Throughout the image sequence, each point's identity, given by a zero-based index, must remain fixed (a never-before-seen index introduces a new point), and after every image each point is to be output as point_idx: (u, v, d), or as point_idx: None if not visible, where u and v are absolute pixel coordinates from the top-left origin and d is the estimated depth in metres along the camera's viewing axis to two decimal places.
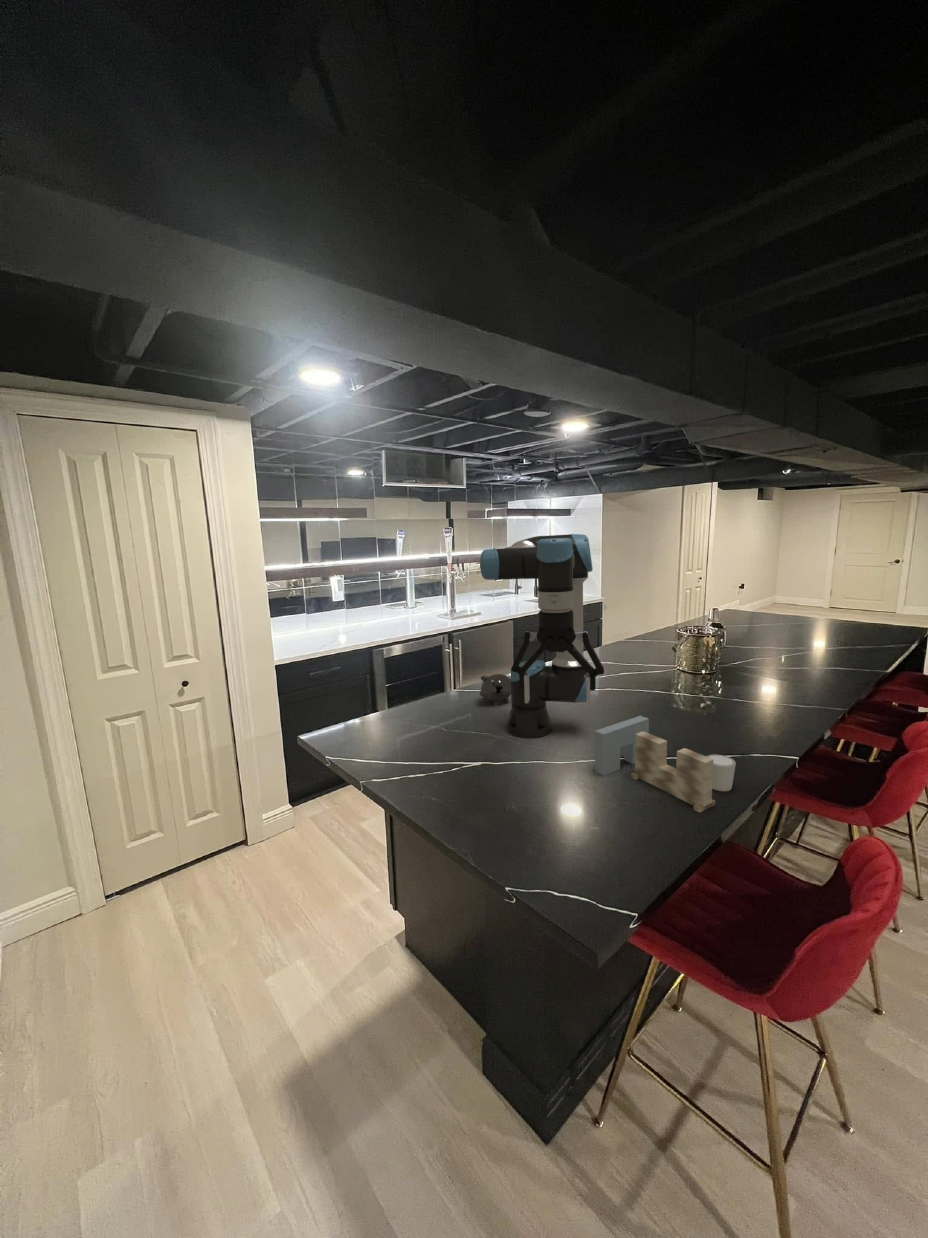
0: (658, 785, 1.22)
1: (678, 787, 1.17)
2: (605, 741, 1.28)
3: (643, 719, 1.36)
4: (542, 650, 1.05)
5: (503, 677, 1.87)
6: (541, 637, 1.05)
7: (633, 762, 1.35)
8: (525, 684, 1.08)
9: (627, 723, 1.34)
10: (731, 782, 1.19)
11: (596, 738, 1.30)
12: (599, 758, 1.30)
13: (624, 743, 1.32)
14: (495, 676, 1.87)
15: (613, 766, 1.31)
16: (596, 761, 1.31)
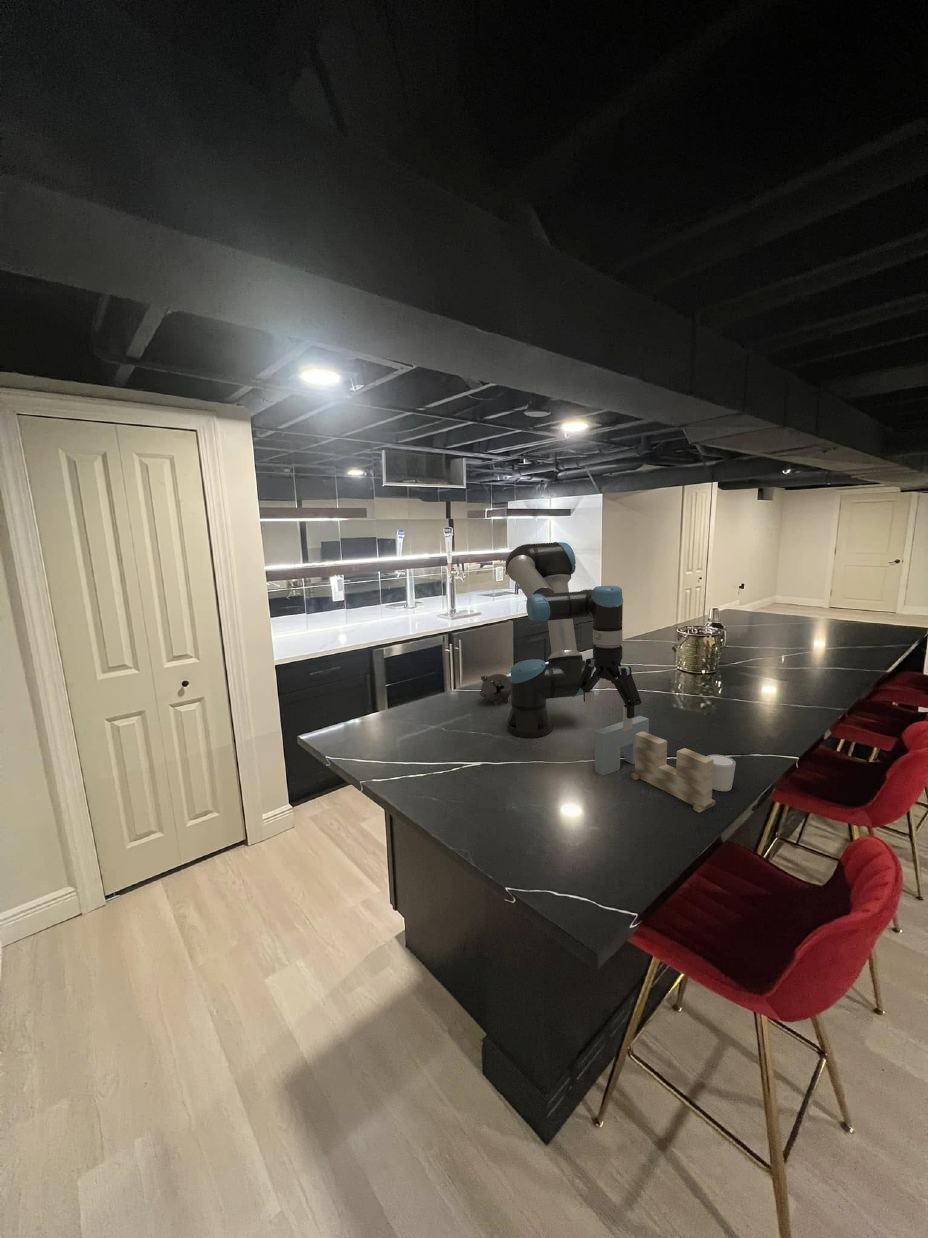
0: (658, 785, 1.22)
1: (678, 787, 1.17)
2: (605, 741, 1.28)
3: (643, 719, 1.36)
4: (595, 675, 1.29)
5: (503, 677, 1.87)
6: (596, 665, 1.29)
7: (633, 762, 1.35)
8: (585, 700, 1.34)
9: None
10: (731, 782, 1.19)
11: (596, 738, 1.30)
12: (599, 758, 1.30)
13: (624, 743, 1.32)
14: (495, 676, 1.87)
15: (613, 766, 1.31)
16: (596, 761, 1.31)
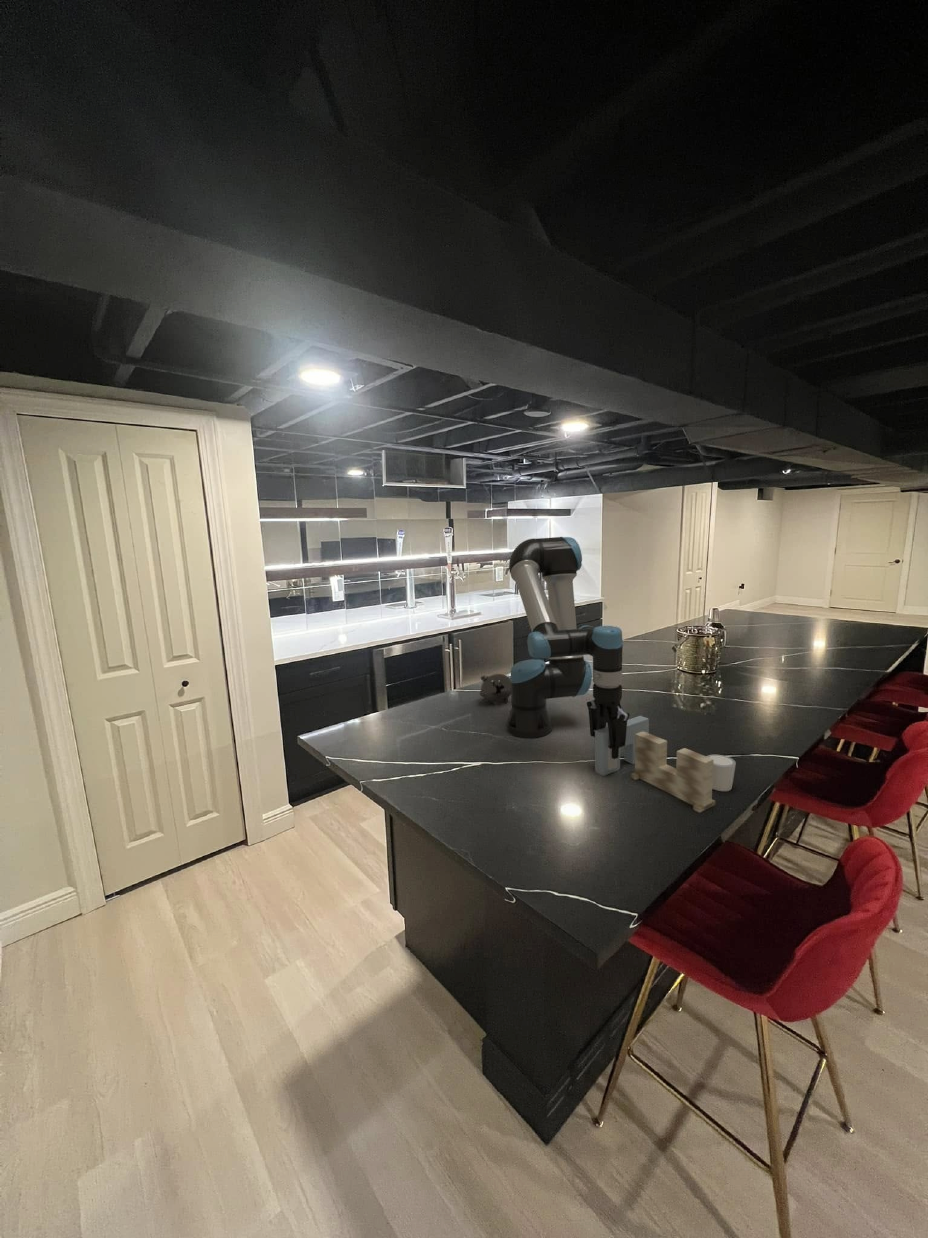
0: (658, 785, 1.22)
1: (678, 787, 1.17)
2: (605, 741, 1.28)
3: (643, 719, 1.36)
4: (598, 716, 1.30)
5: (503, 677, 1.87)
6: (596, 703, 1.31)
7: (633, 762, 1.35)
8: None
9: (627, 723, 1.34)
10: (731, 782, 1.19)
11: (596, 738, 1.30)
12: (599, 758, 1.30)
13: None
14: (495, 676, 1.87)
15: None
16: (596, 761, 1.31)
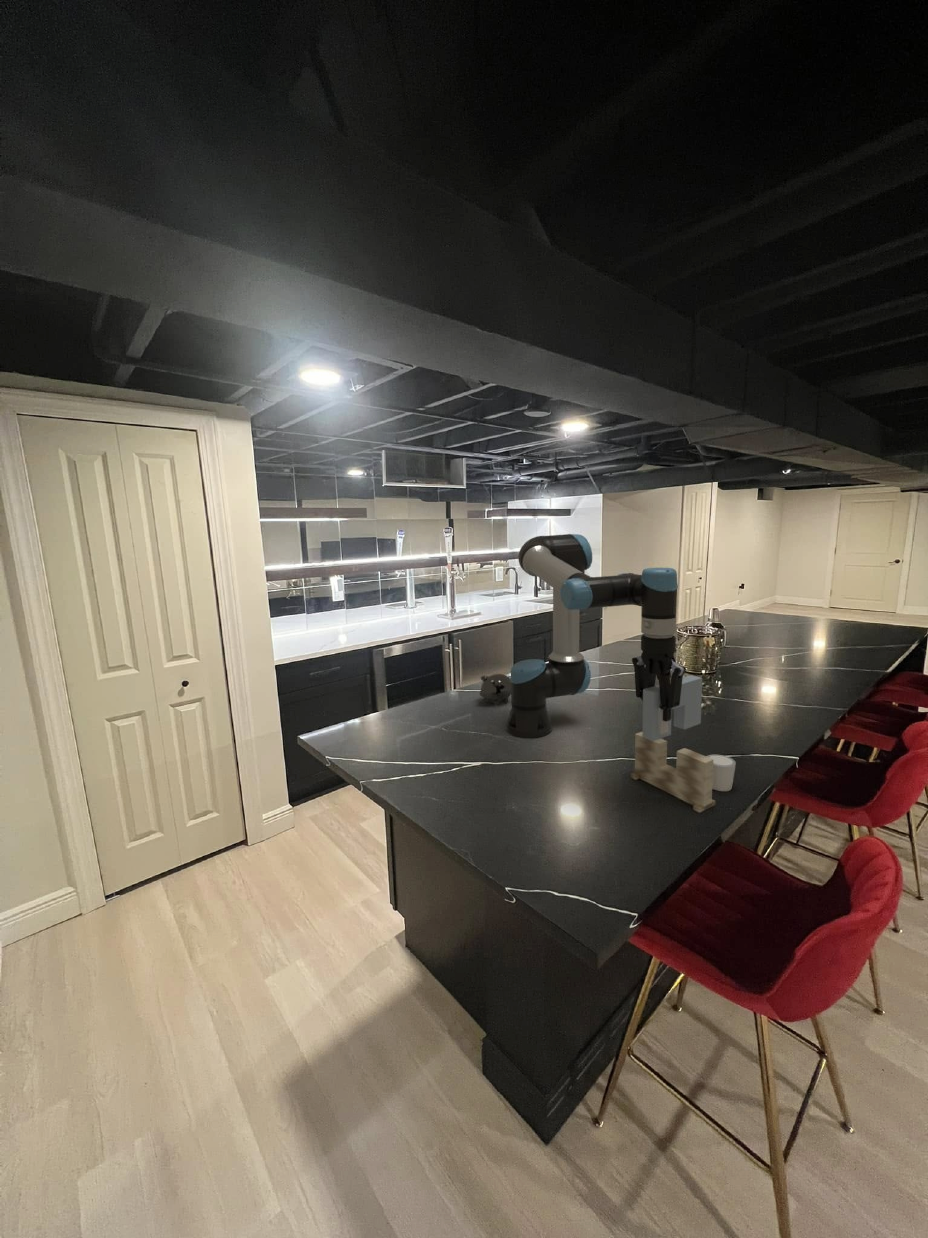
0: (658, 785, 1.22)
1: (678, 787, 1.17)
2: (655, 700, 1.11)
3: (696, 678, 1.19)
4: (647, 673, 1.13)
5: (503, 677, 1.87)
6: (644, 657, 1.14)
7: (685, 727, 1.18)
8: None
9: None
10: (731, 782, 1.19)
11: (644, 698, 1.13)
12: (648, 721, 1.13)
13: None
14: (495, 676, 1.87)
15: None
16: (644, 724, 1.14)
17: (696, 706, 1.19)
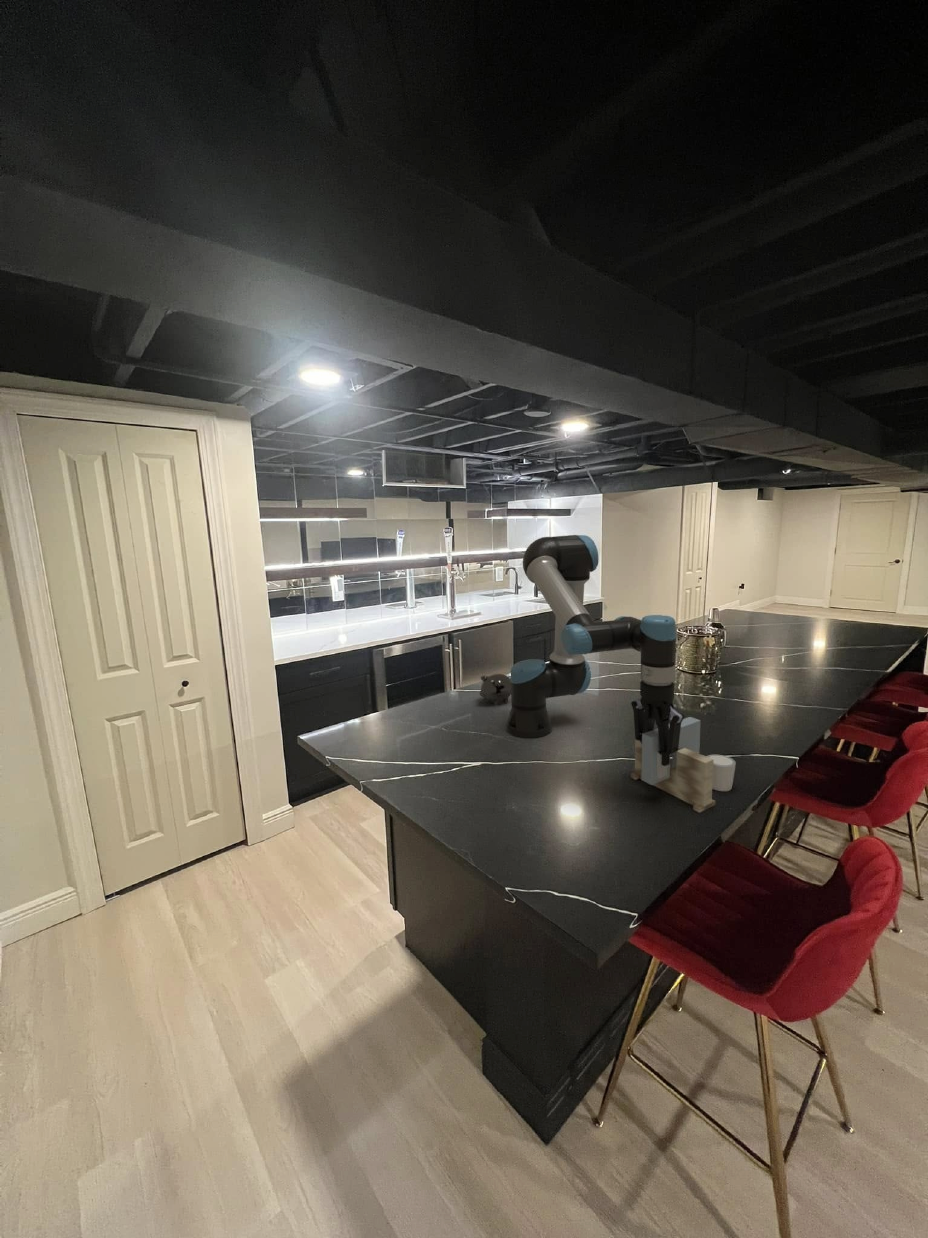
0: (658, 785, 1.22)
1: (678, 787, 1.17)
2: (654, 745, 1.13)
3: (694, 721, 1.21)
4: (646, 718, 1.15)
5: (503, 677, 1.87)
6: (643, 702, 1.16)
7: None
8: None
9: None
10: (731, 782, 1.19)
11: (643, 742, 1.15)
12: (647, 765, 1.15)
13: None
14: (495, 676, 1.87)
15: None
16: (643, 768, 1.16)
17: (694, 748, 1.21)
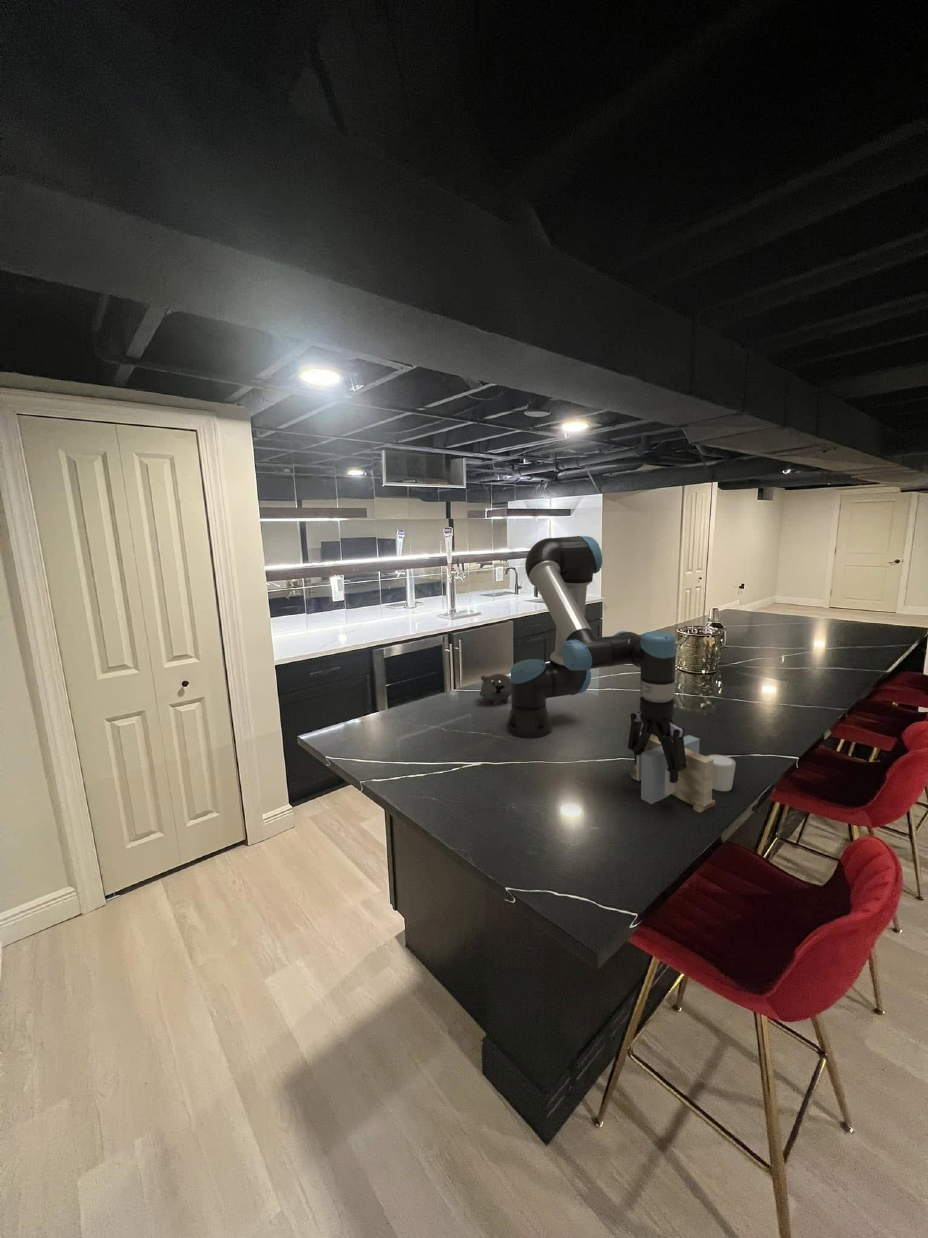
0: None
1: (678, 787, 1.17)
2: (654, 765, 1.14)
3: (693, 739, 1.22)
4: (644, 732, 1.16)
5: (503, 677, 1.87)
6: (642, 718, 1.17)
7: None
8: (637, 763, 1.20)
9: None
10: (731, 782, 1.19)
11: (643, 762, 1.16)
12: (646, 784, 1.16)
13: None
14: (495, 676, 1.87)
15: (662, 793, 1.17)
16: (642, 787, 1.17)
17: None
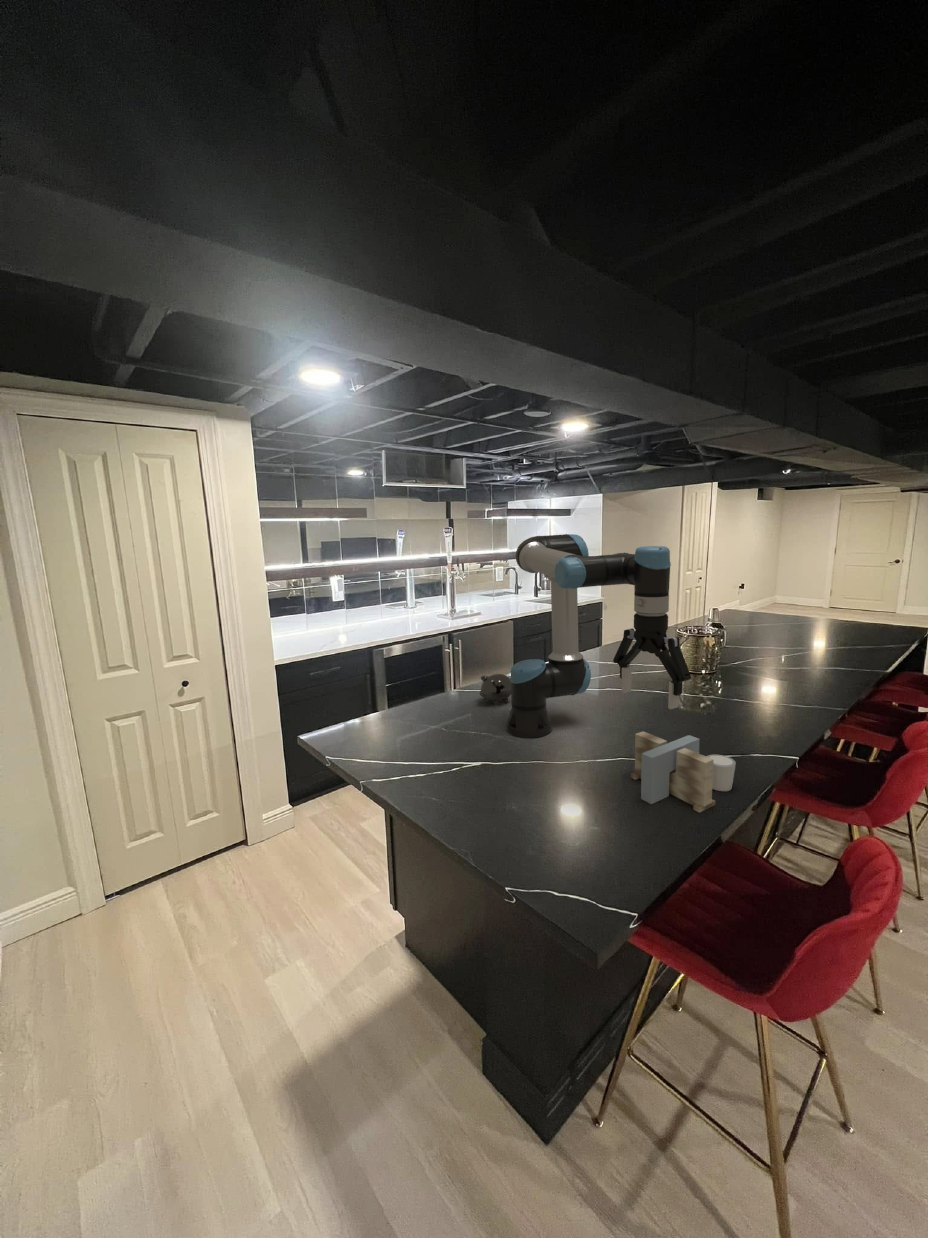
0: None
1: (678, 787, 1.17)
2: (654, 765, 1.14)
3: (693, 739, 1.22)
4: (635, 648, 1.15)
5: (503, 677, 1.87)
6: (636, 636, 1.15)
7: None
8: (622, 676, 1.20)
9: (676, 744, 1.20)
10: (731, 782, 1.19)
11: (643, 762, 1.16)
12: (646, 784, 1.16)
13: (674, 767, 1.18)
14: (495, 676, 1.87)
15: (662, 793, 1.17)
16: (642, 787, 1.17)
17: None
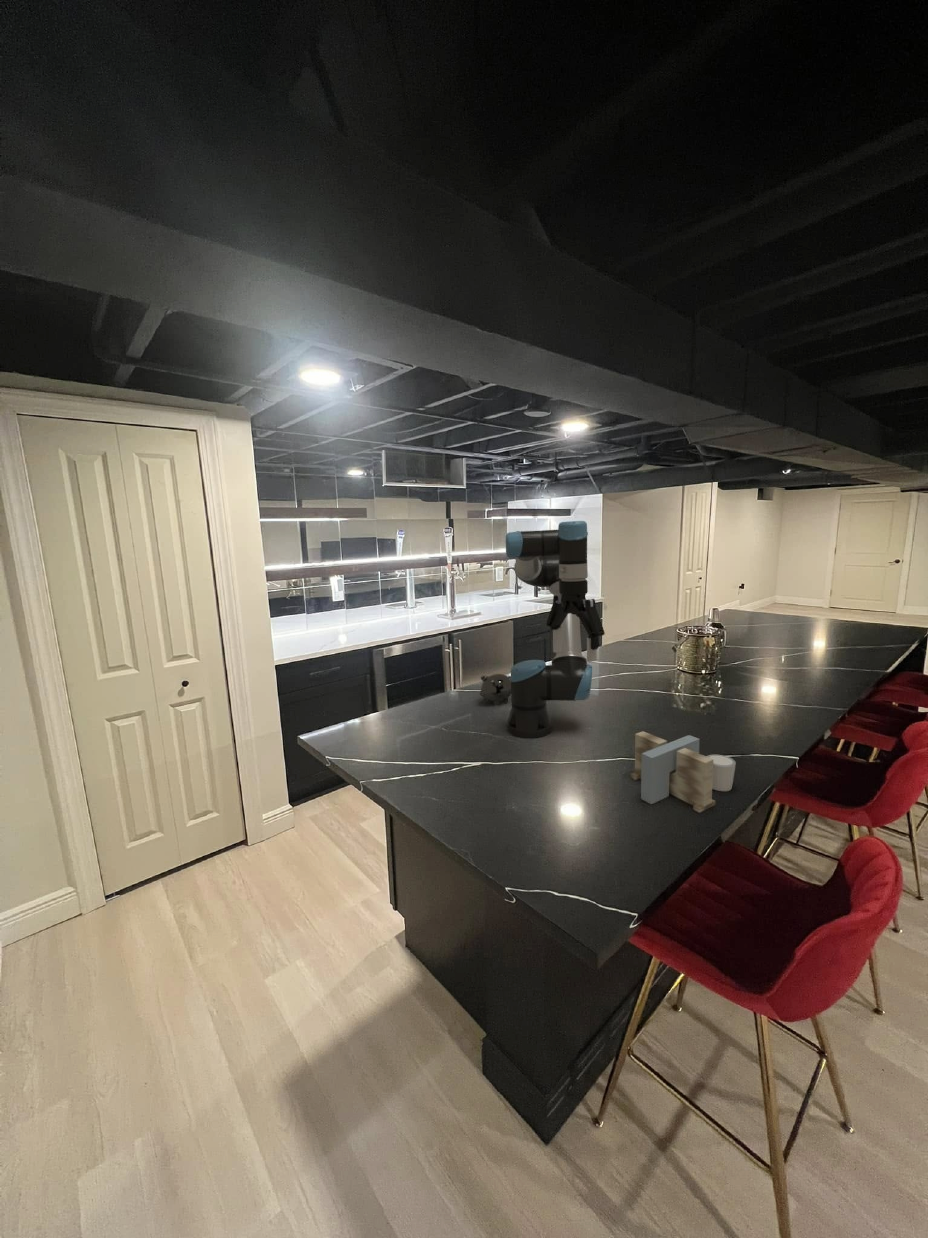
0: None
1: (678, 787, 1.17)
2: (654, 765, 1.14)
3: (693, 739, 1.22)
4: (561, 611, 1.32)
5: (503, 677, 1.87)
6: (562, 600, 1.32)
7: None
8: (553, 637, 1.37)
9: (676, 744, 1.20)
10: (731, 782, 1.19)
11: (643, 762, 1.16)
12: (646, 784, 1.16)
13: (674, 767, 1.18)
14: (495, 676, 1.87)
15: (662, 793, 1.17)
16: (642, 787, 1.17)
17: None
